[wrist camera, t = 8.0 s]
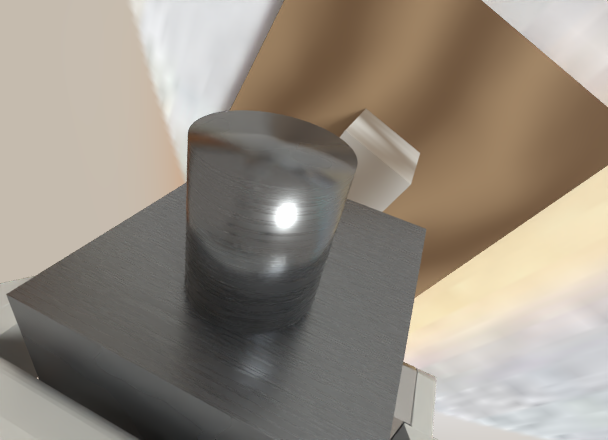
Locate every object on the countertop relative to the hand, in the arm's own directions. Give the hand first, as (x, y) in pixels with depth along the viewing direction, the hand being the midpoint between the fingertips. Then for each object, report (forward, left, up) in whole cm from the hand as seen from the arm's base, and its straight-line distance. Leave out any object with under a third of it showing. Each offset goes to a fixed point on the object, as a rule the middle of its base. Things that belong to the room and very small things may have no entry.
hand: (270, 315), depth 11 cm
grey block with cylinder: (0, +1, -3) cm, 3 cm away
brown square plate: (0, 0, -15) cm, 15 cm away
